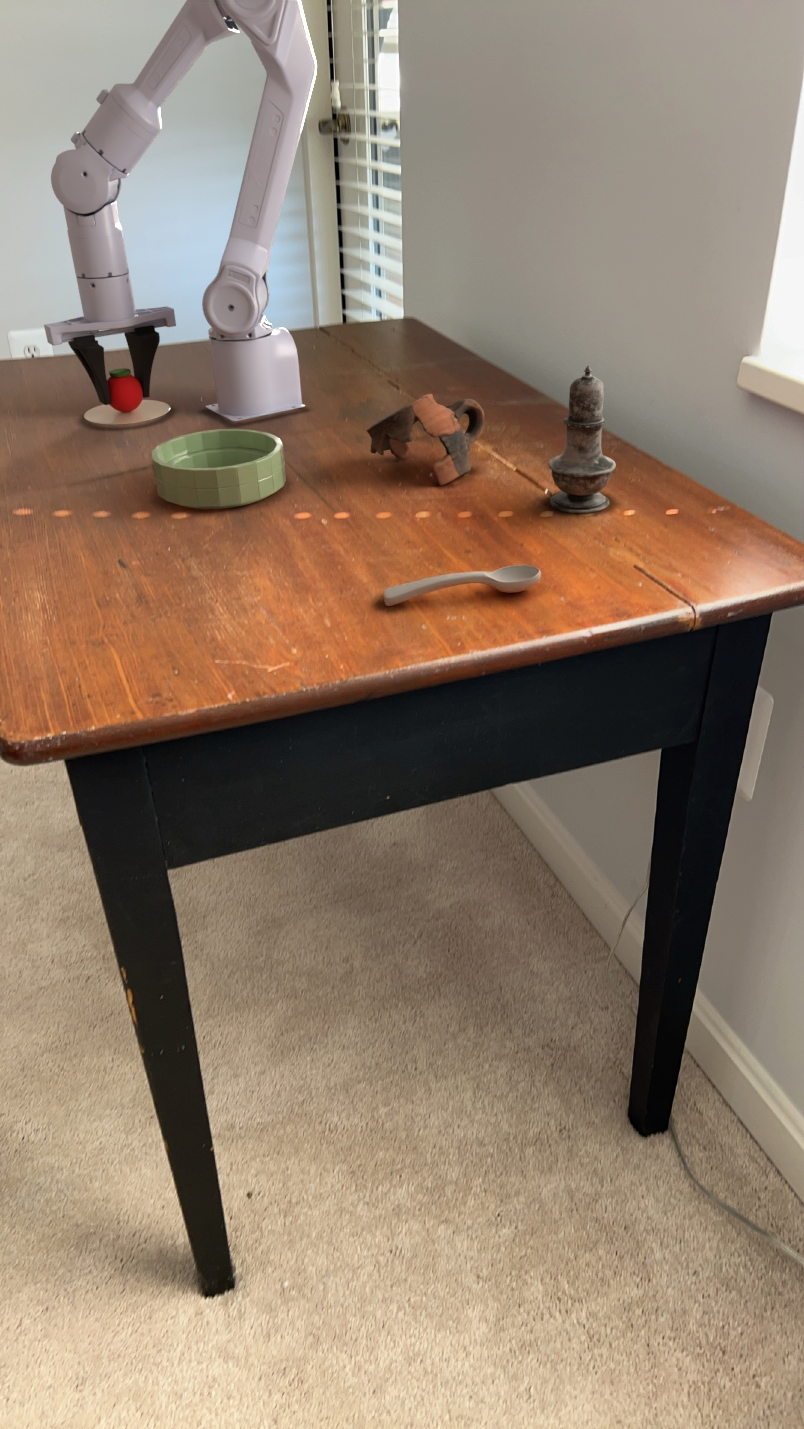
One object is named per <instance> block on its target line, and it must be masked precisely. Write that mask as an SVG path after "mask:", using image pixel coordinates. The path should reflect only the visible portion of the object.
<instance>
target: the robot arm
mask: <svg viewBox="0 0 804 1429" xmlns="http://www.w3.org/2000/svg"><path fill="white" fill-rule="evenodd" d="M240 30H241V31H243V32H244V34H245V35H246V36H247V37H248V38H249V40H250V43H251V45H252V48H253V49H254V51H255V52H256V55H257V56H258V59H259V60H260V62H261V65H262V67H263V68H264V70H265V73H266V78H265V82H264V87H263V91H262V95H261V99H260V104H259V107H258V112H257V117H256V121H255V124H254V129H253V133H252V138H251V141H250V146H249V150H248V154H247V159H246V162H245V168H244V172H243V174H242V175H243V176H242V179H241V180H242V181H241V184H240V189H239V193H238V197H237V201H236V204H235V205H236V206H235V209H234V214H233V218H232V222H231V227H230V231H229V235H228V239H227V242H226V245H225V248H224V251H223V253H222V256H221V260H220V262H219V263H220V264H219V268H218V271H217V273H216V276H215V277H214V278H213V279H212V281H211V282H210V283H209V284H208V285H207V286H206V288H205V290H204V293H203V296H202V301H201V302H202V303H201V307H202V312H203V315H204V318H205V320H206V322H207V323H208V325H209V326H210V328H209V329H208V330H207V332H208V340H209V341H208V342H209V350H210V355H211V363H212V372H213V378H214V386H215V395H216V402H217V403H213V404H208V405H205V407H204V408H205V409H208V410H210V411H212V412H214V413H216V414H217V415H220V416H222V417H223V418H225V419H227V420H230V421H231V422H237V421H238V422H239V421H244V420H248V419H253V418H257V417H262V416H266V415H271V414H276V413H277V414H278V413H281V412H285V411H291V410H294V409H299V408H304V407H306V405H305V404H303V399H302V389H301V388H302V386H301V377H300V376H301V375H300V365H299V355H298V349H297V346H296V343H295V340H294V337H293V335H292V334H291V332H289V330H287V329H286V328H285V327H281V326H280V327H279V326H278V327H273V324H272V323H271V322H270V321H269V320H268V319H267V317H266V315H264V312H265V310H266V309H267V307H268V304H269V300H270V288H269V284H268V270H269V266H270V261H271V256H272V249H273V248H272V247H273V245H274V240H275V237H276V232H277V228H278V225H279V222H280V217H281V213H282V209H283V205H284V202H285V197H286V193H287V190H288V186H289V182H290V177H291V174H292V171H293V166H294V163H295V158H296V154H297V151H298V147H299V143H300V138H301V135H302V131H303V128H304V123H305V120H306V117H307V116H306V115H307V112H308V107H309V103H310V100H311V96H312V92H313V88H314V84H315V81H316V76H317V68H318V64H317V59H316V55H315V52H314V48H313V44H312V40H311V36H310V32H309V29H308V25H307V21H306V17H305V13H304V9H303V4H302V0H186V1H185V2H184V4H183V5H182V7H181V8H180V9H179V12H177V14H176V16H175V17H174V20H173V21H172V22H171V24H170V25H169V27H168V28H167V30H166V32H165V33H164V35H163V36H162V38H161V40H160V41H159V42H158V44H157V46H156V47H155V48H154V51H153V52H152V54H151V55H150V57H149V58H148V60H147V61H146V63H145V64H144V66H143V68H142V69H141V71H140V72H139V74H138V76H137V77H136V79H135V80H134V82H133V83H115V84H114V85H113V86H112V87H111V89H110V90H109V89H107V88H106V89H105V88H104V89H101V91H100V92H99V94H98V95H97V97H96V98H95V99H96V102H97V103H98V104H99V107H98V108H97V110H96V111H95V112H94V114H93V115H92V117H91V118H90V119H89V121H88V122H87V124H86V125H85V127H84V128H83V130H82V131H81V132H79V131H74V133H73V134H72V136H71V138H70V141H71V143H72V144H73V145H74V148H75V149H68V150H65V151H62V152H60V153H59V154H58V155H57V156H56V159H55V163H54V164H53V166H52V169H51V172H50V183H51V188H52V191H53V194H54V195H55V198H56V199H57V200H58V202H59V203H60V204H61V205H62V207H63V212H64V216H65V217H64V218H65V222H66V229H67V231H66V232H67V236H68V241H69V248H70V252H71V257H72V258H71V259H72V262H73V263H72V264H73V269H74V274H75V279H76V282H77V288H78V293H79V299H80V304H81V309H82V316H78V317H74V318H70V319H65V320H62V321H57V322H52V323H46V324H43V327H44V331H45V332H44V333H45V336H46V342H47V343H48V344H50V345H51V346H59V345H63V344H64V343H68V345H69V347H70V349H71V350H72V351H73V353H74V354H75V356H76V357H77V359H78V360H79V362H80V363H81V365H82V367H83V368H84V370H85V371H86V373H87V375H88V377H89V379H90V381H91V383H92V386H93V387H94V390H95V392H96V394H97V398H98V401H99V403H101V404H102V405H103V404H104V405H109V404H111V396H110V391H109V387H108V383H107V380H108V378H107V372H106V363H105V347H104V346H103V345H101V344H99V341H98V339H97V340H96V338H101V337H108V336H113V335H114V336H115V335H120V334H123V335H124V337H125V340H126V343H127V344H126V345H127V347H128V351H129V355H130V359H131V363H132V369H133V376H134V377H135V378H136V379H137V380H138V381H139V382H140V384H141V386H142V389H143V398H144V399H146V398H150V395H151V393H150V392H151V391H150V390H151V388H150V387H151V386H150V385H151V377H152V371H153V370H152V369H153V365H154V360H155V356H156V353H157V350H158V347H159V345H160V342H161V338H160V333H159V332H158V331H156V329H158V328H165V327H166V328H173V327H176V326H177V322H176V315H175V309H174V308H172V307H170V306H160V307H159V306H158V307H148V308H137V309H136V304H135V300H134V292H133V287H132V281H131V275H130V268H129V263H128V258H127V252H126V245H125V238H124V233H123V227H122V225H121V220H120V215H119V209H118V203H117V200H118V198H119V196H120V193H121V189H122V179H126V178H128V176H129V175H130V174H131V172H132V171H133V169H134V168H135V167H136V165H137V164H138V163H139V161H141V159H142V158H143V156H144V155H145V153H146V152H147V150H149V148H150V146H151V145H152V144H153V142H154V141H155V139H156V138H157V136H159V134H160V133H161V131H162V130H163V123H162V117H161V107H162V106H163V104H164V103H165V102H166V101H167V99H168V98H169V97H170V96H171V94H172V93H173V92H174V91H175V89H176V88H177V86H178V85H179V84H180V82H181V81H182V80H183V79H184V77H185V76H186V75H187V73H188V72H189V71H190V70H191V68H192V67H193V66H194V65H195V64H196V62H197V61H198V59H199V58H200V57H201V56H202V54H203V53H204V52H205V50H206V49H207V48H208V47H209V45H211V44H212V43H214V42H217V41H221V40H223V39H226V38H228V37H232V36H235V35H238V34H240Z"/></svg>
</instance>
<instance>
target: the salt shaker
mask: <svg viewBox="0 0 804 1429" xmlns="http://www.w3.org/2000/svg"><path fill="white" fill-rule="evenodd" d="M583 372H584V374H583V375H582V376H580V377H577V378H576V379H574V380H573V381H572V382H571V383H570V385H569V392H568V412H567V413H568V414H567V416H566V417H564V419H563V424H565V426H566V432H565V434H566V435H565V445H564V449H563V452H562V454H560V455H557V456H554V457H552V458H551V459H550V460H549V461H548V464H547V465H548V468H549V469H550V470H551V477H552V480H553V483H554V485H555V486H556V487H557V488H558V490H560V491H558V492H557V493H555V494H554V495H553V496H551V497H550V499H549V503H550V505H551V506H552V507H553V508H554V509H556V510H558V511H561V512H566V513H572V514H592V513H596V512H600V511H603V510H605V509H606V508H608V507H609V506H610V499H609V498H608V497H607V496H606V495H604V494H603V493H601V491H602V490H603V489H605V488H606V487H607V485H608V483H609V481H610V479H611V477H612V472H613V471H614V470H615V469H616V466H617V465H616V462H615V460H614V459H612V458H610V457H608V456H606V455H603V449H602V434H603V431H602V430H603V426H604V425H606V423H607V420H606V418H605V417H603V410H604V409H603V407H604V395H605V393H604V392H605V386H604V383H603V382H602V380H601V379H599V378H598V377H595V376H594V375H593V374H591V373H592V372H593V370H592V367H590V365H587V366H586V367H585V369H584V370H583Z"/></svg>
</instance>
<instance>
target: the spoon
mask: <svg viewBox="0 0 804 1429" xmlns="http://www.w3.org/2000/svg"><path fill="white" fill-rule="evenodd" d="M541 577H542V573H541V570H540V569H539V568H538V567H536V565H530V564H514V565H507V566H503V567H500V568H498V569H495V570H492V571H481V570H480V571H466V572H454V573H447V574H440V575H435V576H431V577H426V578H422V579H419V580H414V581H411V582H410V581H409V582H406V583H401V584H397V585H394V586H393V585H392V586H390V587H387V588H385V589H384V590H383V592H382V595H383V601H384V604H385V606H387V607H391V606H395V605H399V604H400V603H403V602H406V601H409V600H411V599H414V598H416V597H417V598H418V597H419V596H423V595H425V594H429V593H432V592H436V591H439V590H443V589H448V588H451V587H455V586H461V585H467V584H480V585H481V584H482V585H485V586H489V587H492V588H494V589H496V590H497V591H499V592H502V593H507V594H509V593H510V594H512V593H513V594H514V593H520V592H524V591H526V590H529V589H531V588H533V587H534V586H537V584H538V583H539V581H540V580H541Z"/></svg>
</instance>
